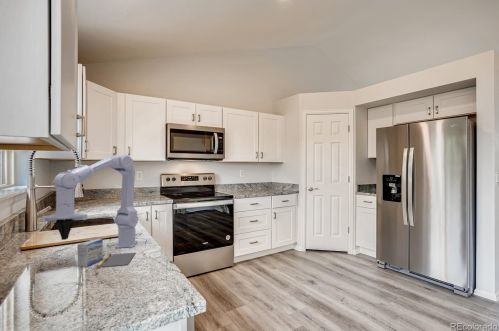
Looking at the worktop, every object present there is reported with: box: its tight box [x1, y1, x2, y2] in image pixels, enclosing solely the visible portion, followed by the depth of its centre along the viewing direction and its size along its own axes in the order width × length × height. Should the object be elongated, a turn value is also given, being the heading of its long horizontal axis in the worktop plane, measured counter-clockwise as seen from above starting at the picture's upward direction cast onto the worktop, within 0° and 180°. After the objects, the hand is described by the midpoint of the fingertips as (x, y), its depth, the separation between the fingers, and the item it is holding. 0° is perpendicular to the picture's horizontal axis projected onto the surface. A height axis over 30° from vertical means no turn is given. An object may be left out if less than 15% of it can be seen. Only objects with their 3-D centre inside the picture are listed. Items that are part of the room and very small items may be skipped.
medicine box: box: [77, 238, 104, 268], centre depth 99 cm, size 8×4×9 cm, turn 168°
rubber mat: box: [101, 252, 137, 268], centre depth 102 cm, size 14×9×1 cm, turn 13°
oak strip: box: [96, 252, 112, 270], centre depth 100 cm, size 14×1×1 cm, turn 13°
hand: (64, 239), depth 97 cm, fingers closed
